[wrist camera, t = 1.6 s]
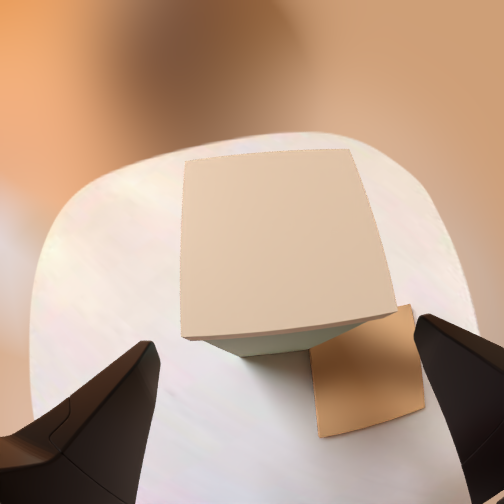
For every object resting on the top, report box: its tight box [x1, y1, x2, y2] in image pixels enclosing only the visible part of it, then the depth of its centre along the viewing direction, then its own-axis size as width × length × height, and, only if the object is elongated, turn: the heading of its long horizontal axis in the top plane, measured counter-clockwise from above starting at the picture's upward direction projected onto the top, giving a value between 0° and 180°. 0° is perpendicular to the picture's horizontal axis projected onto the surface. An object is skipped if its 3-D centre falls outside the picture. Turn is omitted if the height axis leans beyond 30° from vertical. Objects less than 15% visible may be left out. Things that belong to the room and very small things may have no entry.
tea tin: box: [180, 149, 398, 357], centre depth 12 cm, size 5×5×13 cm
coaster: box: [309, 304, 425, 438], centre depth 16 cm, size 8×8×1 cm
